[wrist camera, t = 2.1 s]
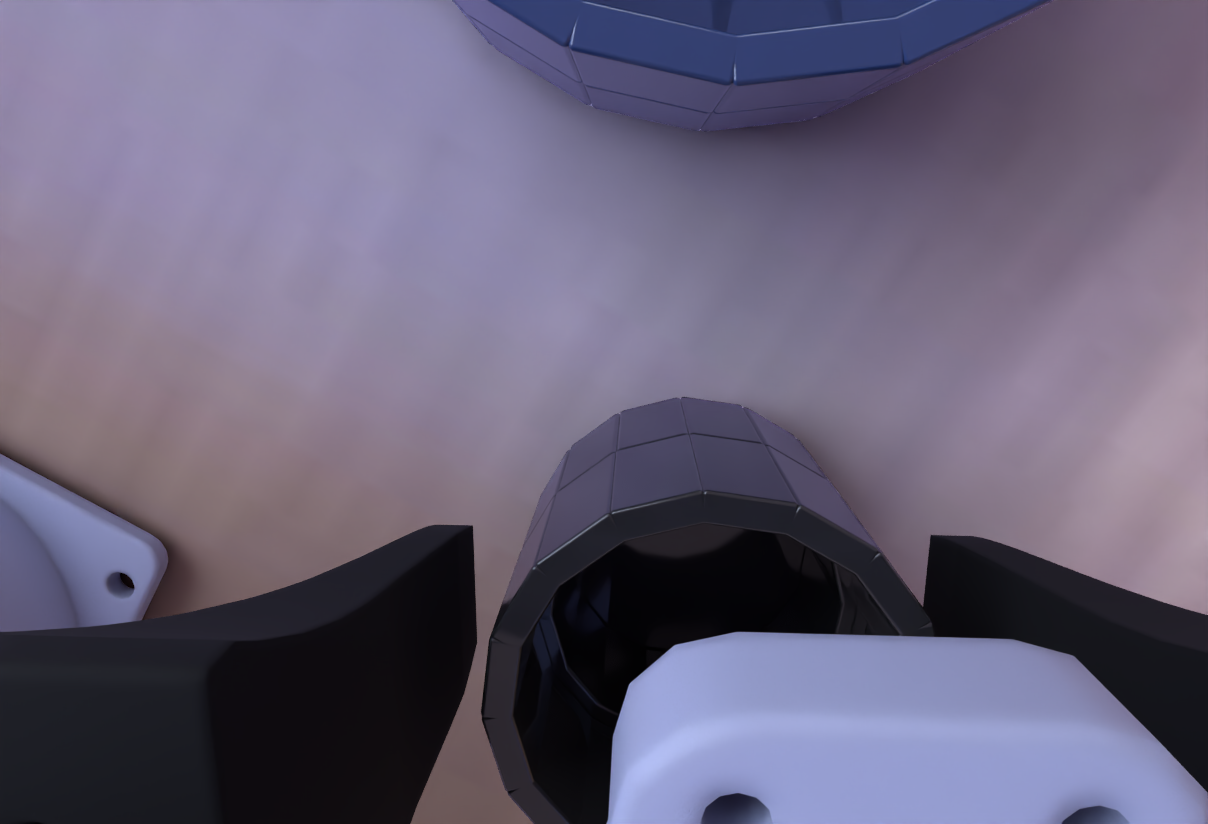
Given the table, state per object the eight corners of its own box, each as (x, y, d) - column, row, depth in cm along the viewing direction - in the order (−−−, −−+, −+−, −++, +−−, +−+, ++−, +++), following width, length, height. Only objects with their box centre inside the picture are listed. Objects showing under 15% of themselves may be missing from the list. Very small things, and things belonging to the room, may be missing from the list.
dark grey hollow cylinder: (730, 714, 15) (778, 968, 10) (486, 580, 15) (405, 774, 10) (892, 488, 14) (1040, 644, 9) (633, 335, 14) (630, 406, 9)
